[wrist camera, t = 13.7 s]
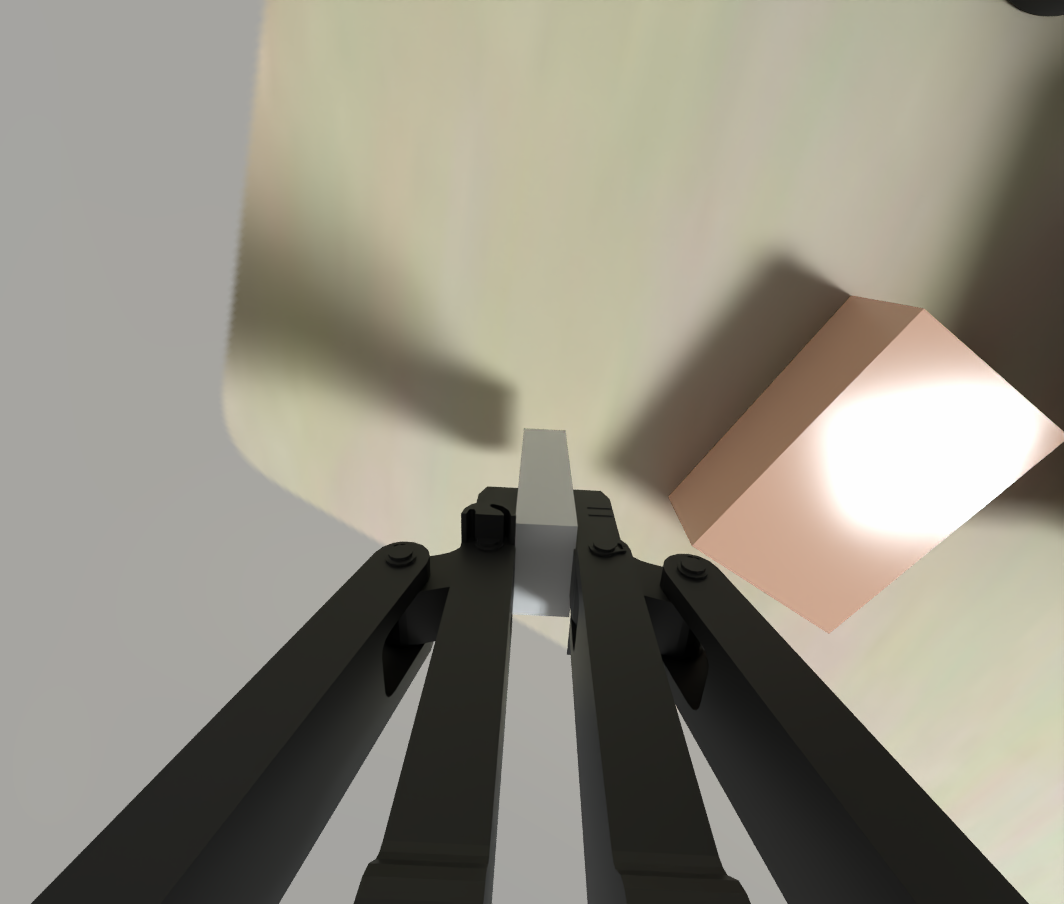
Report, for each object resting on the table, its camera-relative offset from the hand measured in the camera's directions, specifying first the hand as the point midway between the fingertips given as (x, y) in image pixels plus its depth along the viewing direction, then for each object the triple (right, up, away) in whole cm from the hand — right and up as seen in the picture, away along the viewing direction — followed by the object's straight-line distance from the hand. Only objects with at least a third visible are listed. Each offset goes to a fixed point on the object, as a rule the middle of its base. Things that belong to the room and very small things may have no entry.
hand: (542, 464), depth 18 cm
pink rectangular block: (+11, +1, +2) cm, 11 cm away
